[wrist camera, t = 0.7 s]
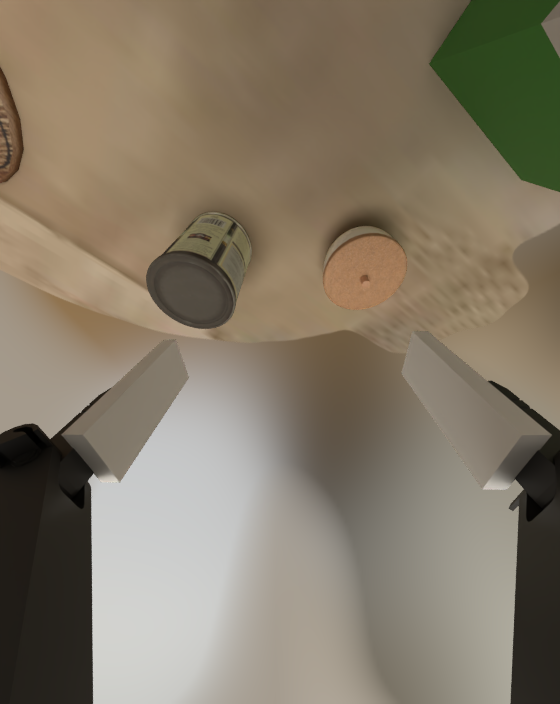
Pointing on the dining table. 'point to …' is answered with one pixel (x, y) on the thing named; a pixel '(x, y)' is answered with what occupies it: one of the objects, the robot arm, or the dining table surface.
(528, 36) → the hardback book
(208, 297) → the coffee can
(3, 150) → the trivet
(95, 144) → the dining table surface
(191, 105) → the dining table surface
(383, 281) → the lidded jar
